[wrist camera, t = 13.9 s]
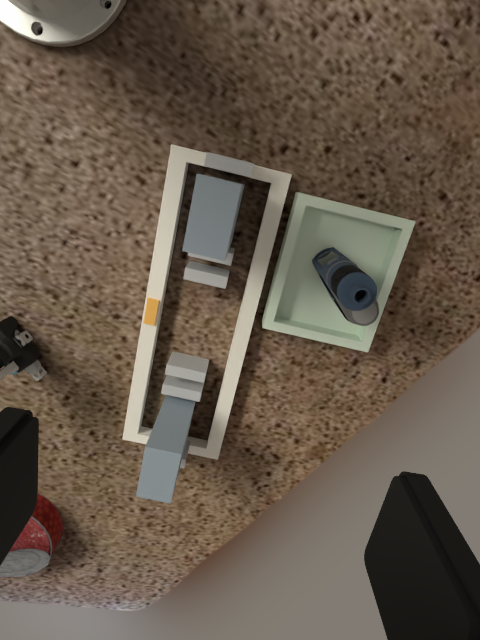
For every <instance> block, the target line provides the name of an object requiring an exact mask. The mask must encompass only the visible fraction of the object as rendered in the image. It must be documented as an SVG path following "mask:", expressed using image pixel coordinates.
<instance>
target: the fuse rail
mask: <svg viewBox="0 0 480 640" xmlns="http://www.w3.org/2000/svg"><path fill="white" fill-rule="evenodd" d="M189 163H192V164H196V165H200V166H204V167H208V168H212V169H216V170H220V171H224V172H228V173H232V174H236V175H240V176H244V177H248V178H252V179H256V180H260V181H264V182H269V183H271V185H270V189H269V193H268V197H267V201H266V205H265V209H264V213H263V217H262V221H261V225H260V229H259V233H258V238H257V242H256V246H255V250H254V254H253V258H252V262H251V266H250V270H249V274H248V278H247V282H246V286H245V291H244V295H243V299H242V303H241V307H240V311H239V315H238V319H237V323H236V327H235V331H234V335H233V339H232V343H231V348H230V352H229V356H228V360H227V364H226V368H225V372H224V376H223V380H222V384H221V388H220V392H219V396H218V401H217V405H216V409H215V413H214V417H213V421H212V425H211V429H210V433H209V437H208V440H203V439H199V438H194V437H189V436H188V433H189V429H190V425H191V420H192V416H193V411H194V407H195V402H196V401H197V402H200V398H201V394H202V390H203V385H204V381H205V376H206V372H207V368H208V364H209V359H205V358H200V357H196V356H191V355H187V354H183V353H178V352H174V351H173V352H172V354H171V356H170V358H169V361H168V363H167V365H166V371H165V374H166V375H167V376H166V378H165V380H164V383H163V386H162V391H161V394H166V397H165V399H164V402H163V404H162V407H161V409H160V412H159V414H158V417H157V419H156V422H155V424H154V427H153V429H152V428H148V427H143V426H141V425H142V419H143V414H144V408H145V403H146V397H147V392H148V386H149V381H150V375H151V370H152V364H153V359H154V353H155V348H156V342H157V337H158V331H159V325H160V320H161V314H162V309H163V303H164V298H165V292H166V287H167V281H168V276H169V270H170V265H171V259H172V254H173V248H174V243H175V237H176V232H177V226H178V221H179V215H180V210H181V204H182V198H183V193H184V187H185V182H186V176H187V171H188V165H189ZM291 176H292V174H288V173H284V172H280V171H276V170H272V169H268V168H264V167H260V166H256V165H254V163H250V162H246V161H242V160H238V159H234V158H230V157H226V156H222V155H218V154H214V153H210V152H207V153H204V152H200V151H196V150H192V149H188V148H184V147H180V146H176V145H172V144H171V149H170V155H169V161H168V167H167V174H166V180H165V186H164V192H163V198H162V204H161V210H160V216H159V222H158V228H157V234H156V240H155V246H154V252H153V258H152V264H151V270H150V276H149V282H148V288H147V294H146V300H145V306H144V312H143V318H142V324H141V330H140V336H139V342H138V348H137V354H136V360H135V367H134V373H133V379H132V385H131V391H130V397H129V403H128V409H127V415H126V421H125V427H124V433H123V440H128V441H133V442H137V443H142V444H146V446H145V451H144V456H143V462H142V467H141V472H140V478H139V483H138V488H137V494H136V496H137V497H142V498H147V499H151V500H156V501H161V502H166V503H171V500H172V496H173V492H174V488H175V484H176V480H177V476H178V472H179V468H184V467H185V463H186V459H187V455H188V454H193V455H198V456H202V457H207V458H212V459H216V460H218V457H219V453H220V449H221V445H222V441H223V438H224V434H225V430H226V426H227V422H228V418H229V415H230V411H231V407H232V403H233V399H234V395H235V391H236V388H237V384H238V380H239V376H240V372H241V368H242V364H243V361H244V357H245V353H246V349H247V345H248V341H249V337H250V334H251V330H252V326H253V322H254V318H255V314H256V310H257V307H258V303H259V299H260V295H261V291H262V287H263V283H264V280H265V276H266V272H267V268H268V264H269V260H270V256H271V253H272V249H273V245H274V241H275V237H276V233H277V230H278V226H279V222H280V218H281V214H282V210H283V206H284V203H285V199H286V195H287V191H288V187H289V183H290V179H291ZM244 186H245V184H241V183H237V182H233V181H229V180H225V179H221V178H217V177H213V176H208V175H202V174H197V175H196V180H195V186H194V191H193V196H192V202H191V207H190V212H189V218H188V223H187V228H186V233H185V239H184V244H183V249H182V251H184V252H188V256H192V257H196V258H200V259H204V260H208V261H213V262H217V263H221V264H225V265H230V266H231V263H232V259H233V255H234V251H235V248H231V247H230V245H231V242H232V239H233V234H234V230H235V226H236V221H237V217H238V212H239V208H240V203H241V199H242V195H243V190H244ZM229 272H230V270H227V269H223V268H219V267H215V266H210V265H206V264H202V263H198V262H193V261H190V262H189V264H188V265H187V266H186V267H185V272H184V278H183V279H186V280H190V281H194V282H198V283H203V284H207V285H211V286H215V287H220V288H224V289H226V285H227V281H228V277H229Z"/></svg>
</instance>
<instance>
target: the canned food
mask: <svg viewBox="0 0 480 640" xmlns="http://www.w3.org/2000/svg"><path fill="white" fill-rule="evenodd" d="M62 533H63V521H62V518H61V515H60V513H59V512H58V510H57V508H56V507H55V506H54V505H53V504H52V503H51V502H50V501H49V500H48V499H47V498H45V497H44V496H42V495H41V494H39V493H37V504H36V507H35V510H34V513H33V514H32V516H31V518H30V519H29V521H28V523H27V524H26V526H25V527H24V529H23V531H22V532H21V534H20V535H19V537H18V539H17V540H16V542H15V543H14V545H13V546H12V548H11V550H10V551H9V553H8V554H7V556H6V558H5V559H4V561H3V562H2V564H1V566H0V577H11V576H12V577H19V576H27V575H30V574H33V573H35V572H38V571H40V570H41V569H42V568H44V567H45V566H47V565H48V563H49V560H50V558H51V555H52V554H53V552H54V550H55V548H56V546H57V544H58V542H59V540H60V538H61V536H62Z"/></svg>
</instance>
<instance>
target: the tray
mask: <svg viewBox="0 0 480 640" xmlns="http://www.w3.org/2000/svg"><path fill="white" fill-rule="evenodd" d="M415 222H416V221H412V220H408V219H404V218H400V217H396V216H392V215H388V214H384V213H380V212H376V211H372V210H368V209H364V208H360V207H356V206H352V205H348V204H343V203H339V202H335V201H331V200H327V199H323V198H319V197H315V196H311V195H307V194H303V193H299V192H295V196H294V200H293V204H292V207H291V211H290V215H289V219H288V222H287V226H286V230H285V234H284V238H283V241H282V245H281V249H280V253H279V256H278V260H277V264H276V268H275V271H274V275H273V279H272V283H271V286H270V290H269V294H268V298H267V301H266V305H265V309H264V313H263V317H262V328H264V329H269V330H273V331H277V332H282V333H286V334H290V335H295V336H299V337H303V338H308V339H312V340H316V341H321V342H325V343H329V344H334V345H338V346H342V347H347V348H351V349H355V350H360V351H364V352H368V351H369V348H370V346H371V343H372V340H373V337H374V335H375V332H376V329H377V326H378V324H379V321H380V318H381V315H382V313H383V310H384V307H385V304H386V302H387V299H388V296H389V294H390V291H391V288H392V285H393V283H394V280H395V277H396V274H397V272H398V269H399V266H400V263H401V261H402V258H403V255H404V252H405V250H406V247H407V244H408V241H409V239H410V236H411V233H412V230H413V228H414V225H415ZM332 247H334V248H335V249H337V250H338V251H339V252H341V253H342V254H343V255H344V256H346V257H347V258H349V259H350V260H351V261H352V262H354V263H355V264H356V265H357V266H358V268H360V269H361V270H362V271H363V272H365V273H366V274H367V275H368V276H370V277H371V278H372V279H373V280H374V282H375V283H376V286H377V296H376V300H377V302H378V305H379V315H378V318H377V319H376V321H375V322H373V323H372V324H370V325H367V326H359V325H357V324H353V323H351V322H349V321H347V320H346V319H345V317H344V316H343V314H342V313H341V312H340V310H339V309H338V307H337V306H336V304H335V303H334V301H333V300H332V299H331V297H330V295H329V293H328V291H327V289H326V287H325V286H324V284H323V282H322V280H321V278H320V276H319V274H318V272H317V271H316V269H315V267H314V265H313V263H312V259H314V257H315V256H316V255H317V254H318V253H319V252H320V251H322V250H324V249H327V248H332ZM332 298H333V297H332Z"/></svg>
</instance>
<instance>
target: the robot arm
mask: <svg viewBox="0 0 480 640" xmlns="http://www.w3.org/2000/svg"><path fill="white" fill-rule="evenodd" d="M126 1H127V0H0V22H1V23H2V24H4V25H5V26H6V27H8V28H9V29H11V30H12V31H14V32H15V33H17V34H19V35H21V36H22V37H24V38H26V39H28V40H30V41H32V42H35V43H39V44H42V45H45V46H53V47H68V46H75V45H79V44H82V43H84V42H87V41H90V40H92V39H93V38H95V37H96V36H98V35H99V34H101V33H102V32H104V31H105V30H106V29H107V28H108V27H109V26H110V25H111V24H112V23H113V22H114V21H115V20H116V18H117V17H118V15H119V13H120V12H121V10H122V9H123V7H124V5H125V3H126ZM109 3H111V4H112V5H111V7H110V8H109V9H107V5H108V4H109ZM42 29H43V32H42V34H41V35H40V31H41V30H42ZM38 432H39V421H38V418H36V417H33V414H32V412H31V411H30V410H24V409H18V408H11V407H6V408H5V409H3V410H2V411H1V412H0V566H1V564H2V562H3V561H4V559H5V558H6V556H7V554H8V553H9V551H10V550H11V548H12V546H13V545H14V543H15V542H16V540H17V539H18V537H19V535H20V534H21V532H22V531H23V529H24V527H25V526H26V524H27V523H28V521H29V519H30V518H31V516H32V514H33V513H34V510H35V507H36V504H37V491H38ZM364 557H365V558H364V560H365V566H366V569H367V573H368V576H369V579H370V583H371V586H372V589H373V593H374V596H375V599H376V602H377V606H378V609H379V612H380V616H381V619H382V622H383V626H384V629H385V632H386V635H387V639H388V640H480V564H479V562H478V561H477V559H476V557H475V556H474V554H473V552H472V551H471V549H470V547H469V546H468V544H467V542H466V541H465V539H464V537H463V536H462V534H461V532H460V531H459V529H458V527H457V525H456V524H455V522H454V521H453V519H452V517H451V515H450V514H449V512H448V510H447V509H446V507H445V505H444V504H443V502H442V500H441V499H440V497H439V495H438V494H437V492H436V490H435V489H434V487H433V485H432V484H431V482H430V480H429V479H428V477H427V476H425V475H422V474H416V473H410V472H401V473H400V475H399V476H395V477H394V478H393V480H392V481H391V484H390V487H389V489H388V492H387V494H386V497H385V500H384V502H383V505H382V507H381V510H380V513H379V515H378V518H377V521H376V523H375V526H374V529H373V531H372V533H371V536H370V539H369V541H368V544H367V546H366V549H365V555H364Z"/></svg>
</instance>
